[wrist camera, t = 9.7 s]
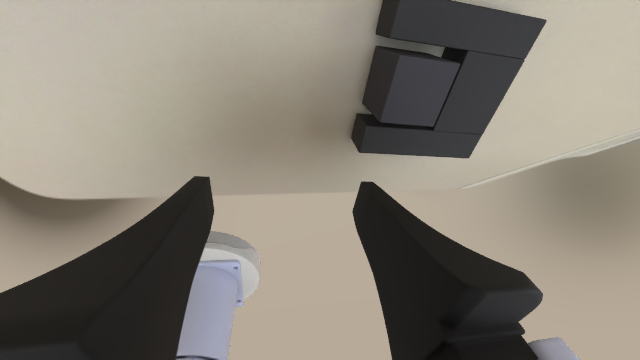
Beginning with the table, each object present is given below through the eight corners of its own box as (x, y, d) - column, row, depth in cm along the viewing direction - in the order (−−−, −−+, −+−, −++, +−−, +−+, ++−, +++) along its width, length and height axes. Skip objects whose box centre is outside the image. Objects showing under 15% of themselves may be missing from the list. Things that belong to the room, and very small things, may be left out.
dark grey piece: (451, 145, 23) (469, 158, 21) (350, 138, 21) (358, 152, 19) (515, 18, 17) (548, 19, 15) (384, -8, 15) (401, -10, 13)
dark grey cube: (407, 107, 20) (433, 127, 16) (361, 102, 19) (379, 122, 16) (427, 53, 17) (461, 63, 14) (375, 45, 17) (399, 54, 13)
